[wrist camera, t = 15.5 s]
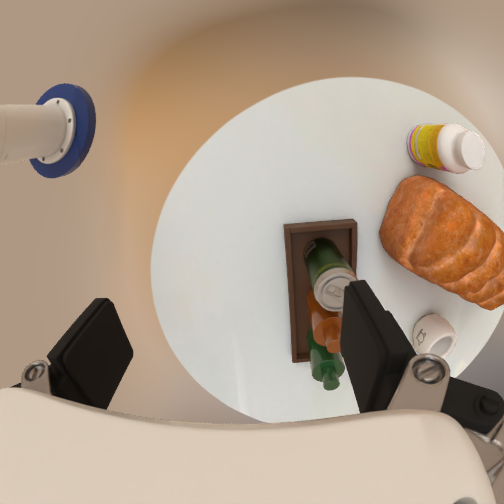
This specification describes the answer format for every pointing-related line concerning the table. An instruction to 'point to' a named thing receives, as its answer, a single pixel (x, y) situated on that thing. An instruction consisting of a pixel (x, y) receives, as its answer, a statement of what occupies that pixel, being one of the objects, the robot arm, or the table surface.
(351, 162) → the table surface
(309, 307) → the amber bottle
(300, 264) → the tray
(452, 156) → the supplement bottle
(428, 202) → the bread
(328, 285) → the beer can
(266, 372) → the table surface
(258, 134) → the table surface
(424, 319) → the mug
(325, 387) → the green bottle
